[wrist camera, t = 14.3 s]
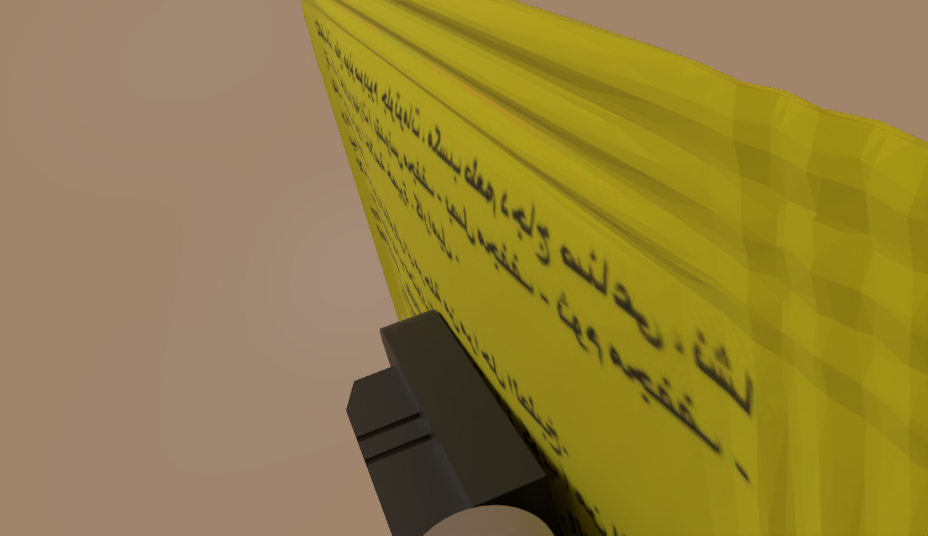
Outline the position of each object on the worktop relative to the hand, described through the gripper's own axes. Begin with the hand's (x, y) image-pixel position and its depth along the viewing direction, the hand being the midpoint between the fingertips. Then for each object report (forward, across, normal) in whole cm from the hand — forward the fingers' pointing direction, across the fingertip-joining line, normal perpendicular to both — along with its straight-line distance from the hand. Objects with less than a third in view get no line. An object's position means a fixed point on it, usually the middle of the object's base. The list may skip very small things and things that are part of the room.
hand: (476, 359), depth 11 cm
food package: (0, 0, +15) cm, 15 cm away
